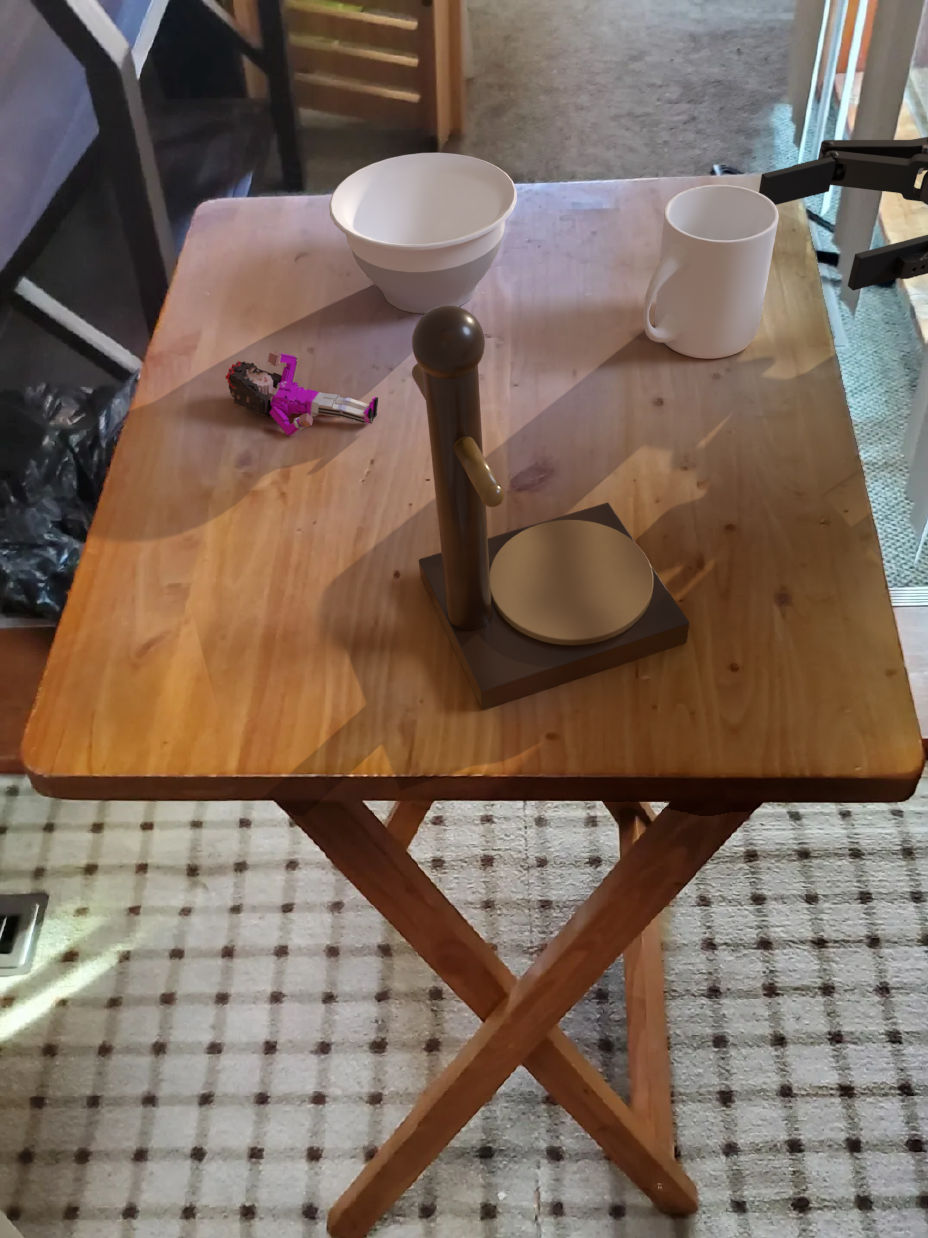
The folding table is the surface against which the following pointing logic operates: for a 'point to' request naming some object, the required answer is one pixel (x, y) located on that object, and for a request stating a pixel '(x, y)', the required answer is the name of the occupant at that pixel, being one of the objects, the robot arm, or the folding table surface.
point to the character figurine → (290, 396)
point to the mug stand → (523, 552)
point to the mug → (712, 270)
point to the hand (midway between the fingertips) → (804, 230)
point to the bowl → (425, 225)
